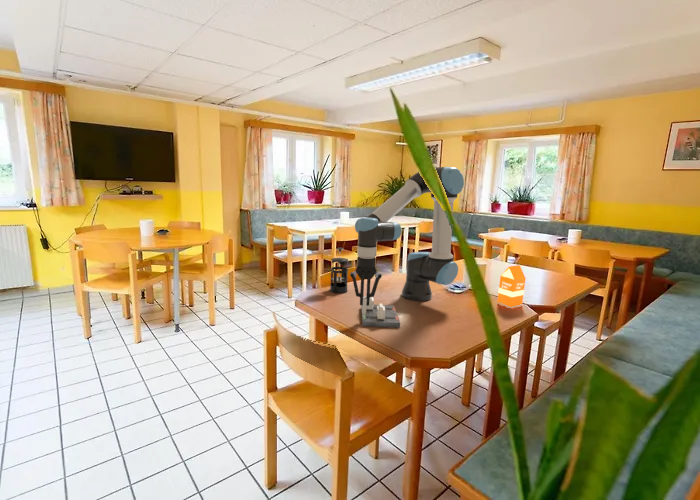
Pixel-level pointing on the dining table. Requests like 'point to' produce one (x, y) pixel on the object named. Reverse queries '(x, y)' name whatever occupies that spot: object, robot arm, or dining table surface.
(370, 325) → the switch board
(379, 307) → the handle
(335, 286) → the french press
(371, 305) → the on handle
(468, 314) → the dining table surface
